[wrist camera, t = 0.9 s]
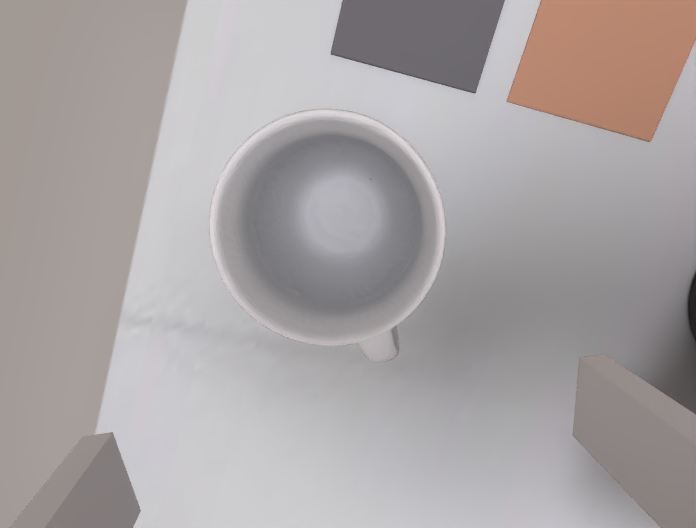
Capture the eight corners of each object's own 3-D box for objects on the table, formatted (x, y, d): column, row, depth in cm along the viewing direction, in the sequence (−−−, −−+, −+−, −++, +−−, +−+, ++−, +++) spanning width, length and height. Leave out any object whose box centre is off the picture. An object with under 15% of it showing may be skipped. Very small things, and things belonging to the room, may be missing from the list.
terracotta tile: (720, -35, 25) (731, -42, 24) (643, 142, 28) (651, 141, 27) (565, -78, 25) (572, -87, 24) (503, 103, 28) (507, 101, 27)
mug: (446, 295, 30) (505, 375, 17) (324, 339, 32) (296, 442, 19) (383, 119, 28) (398, 61, 15) (253, 174, 29) (164, 165, 16)
